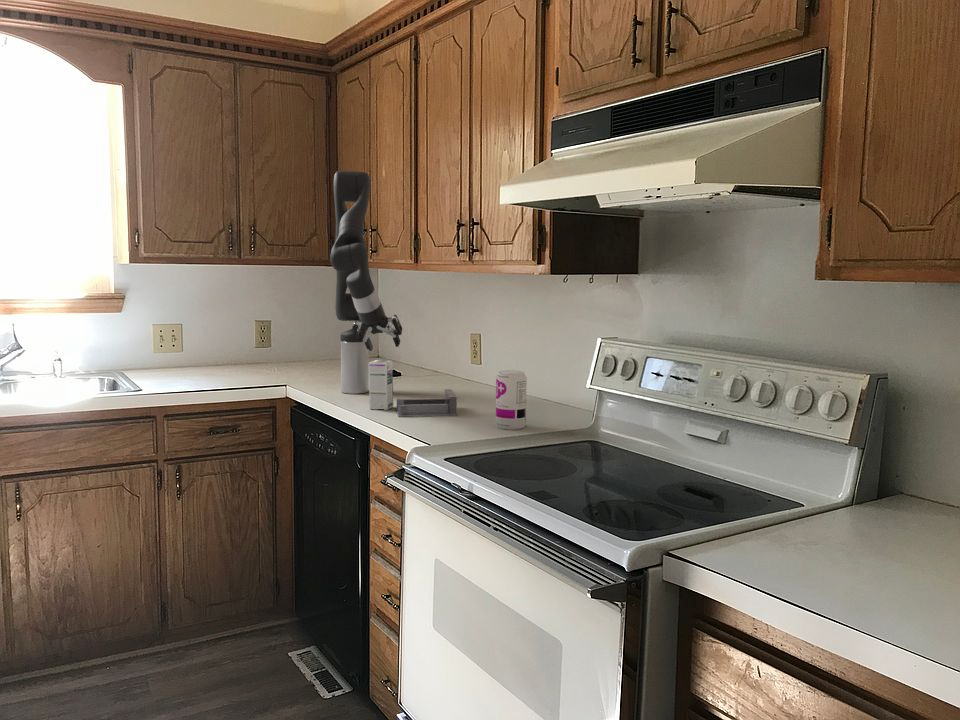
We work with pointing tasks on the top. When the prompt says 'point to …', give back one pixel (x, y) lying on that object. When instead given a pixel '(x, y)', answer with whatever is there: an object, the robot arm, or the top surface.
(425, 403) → the bracket
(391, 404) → the syrup box
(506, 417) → the supplement can
